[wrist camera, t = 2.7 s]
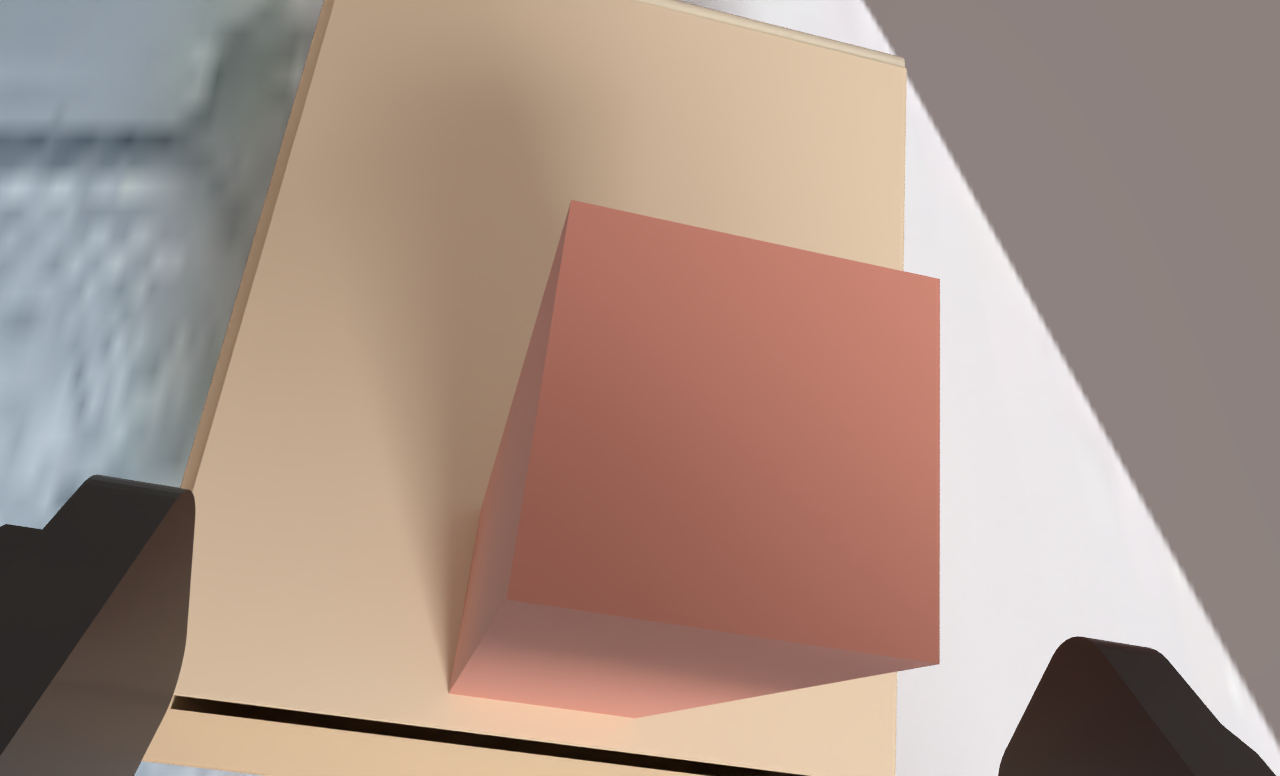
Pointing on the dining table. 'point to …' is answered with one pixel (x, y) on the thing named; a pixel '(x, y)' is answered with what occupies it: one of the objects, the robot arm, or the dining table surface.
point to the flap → (582, 393)
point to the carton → (342, 746)
